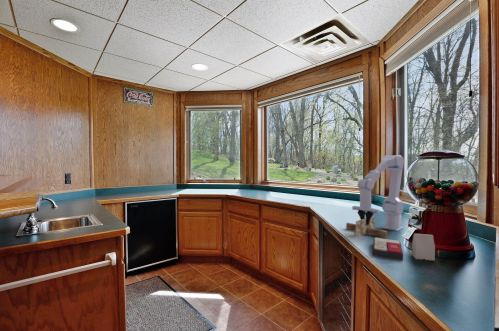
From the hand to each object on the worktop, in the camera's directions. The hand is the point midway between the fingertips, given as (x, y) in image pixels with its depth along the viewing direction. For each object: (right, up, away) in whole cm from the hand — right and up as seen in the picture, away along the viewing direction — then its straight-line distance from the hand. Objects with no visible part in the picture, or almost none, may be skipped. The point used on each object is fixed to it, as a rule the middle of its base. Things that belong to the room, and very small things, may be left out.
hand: (365, 224), depth 131 cm
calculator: (-3, -6, -26) cm, 27 cm away
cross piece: (0, -5, 0) cm, 5 cm away
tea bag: (+8, -6, -33) cm, 34 cm away
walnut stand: (0, -5, 0) cm, 5 cm away
